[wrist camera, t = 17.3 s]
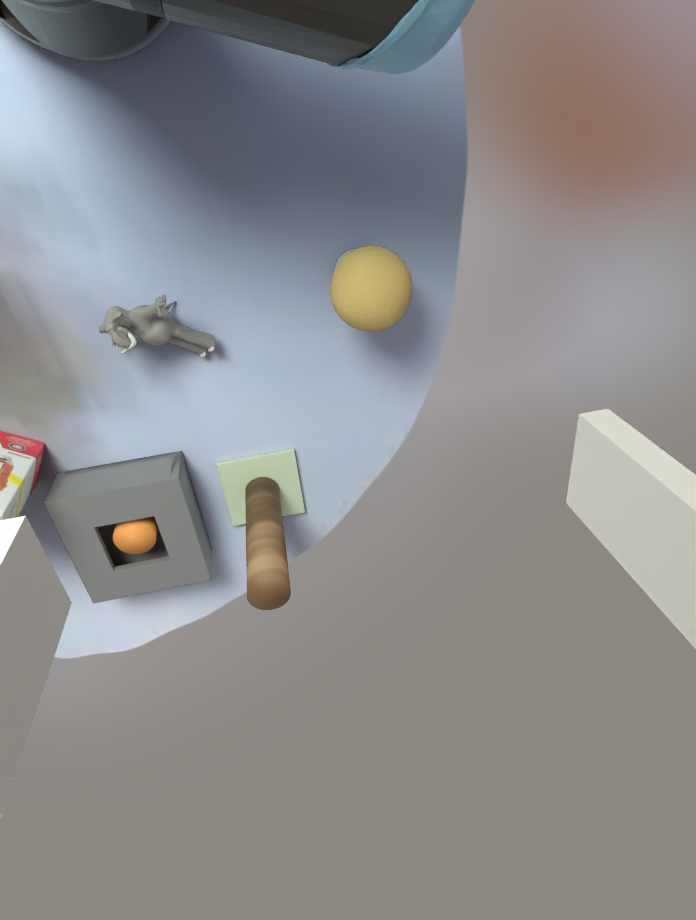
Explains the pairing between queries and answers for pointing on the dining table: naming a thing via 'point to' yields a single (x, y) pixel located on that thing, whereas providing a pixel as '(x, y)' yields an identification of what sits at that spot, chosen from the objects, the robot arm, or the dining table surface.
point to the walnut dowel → (265, 546)
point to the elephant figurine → (153, 328)
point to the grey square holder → (124, 499)
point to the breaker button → (136, 535)
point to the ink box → (17, 472)
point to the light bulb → (370, 288)
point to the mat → (262, 465)
